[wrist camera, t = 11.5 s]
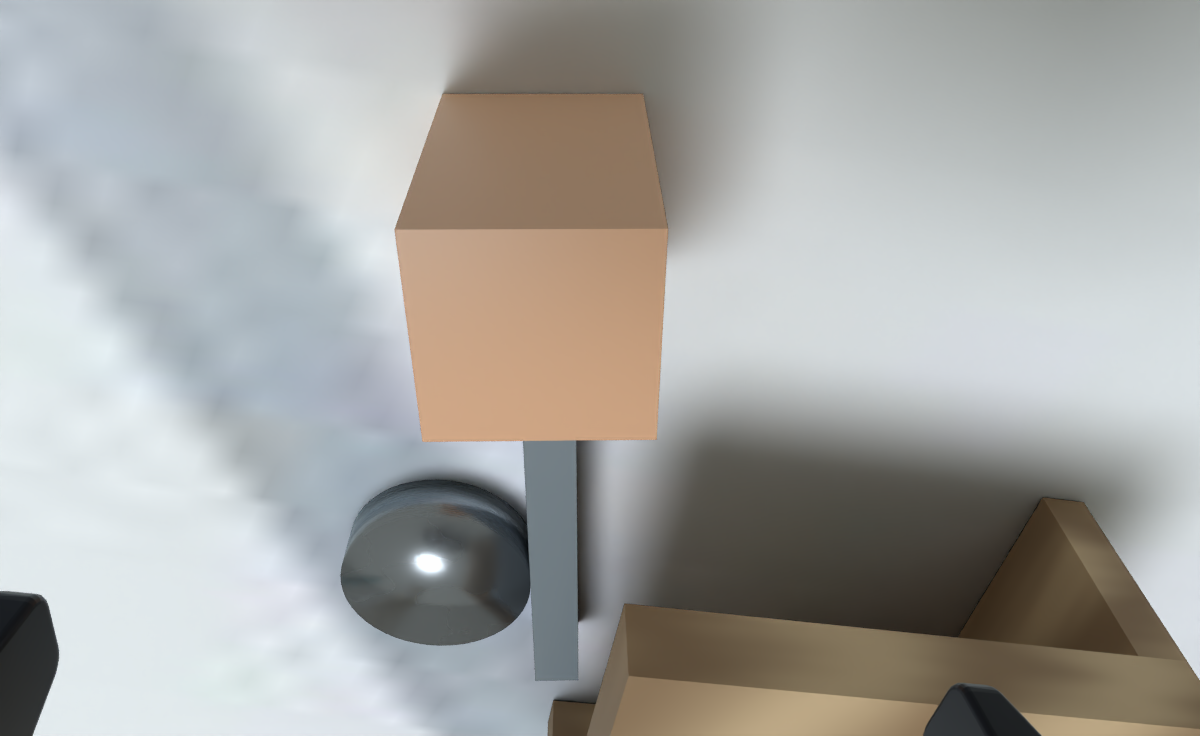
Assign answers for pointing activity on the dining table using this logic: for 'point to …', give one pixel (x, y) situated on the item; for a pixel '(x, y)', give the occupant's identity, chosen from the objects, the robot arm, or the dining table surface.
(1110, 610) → the shelf
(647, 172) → the toy hammer
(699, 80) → the dining table surface
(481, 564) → the disc
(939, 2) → the dining table surface
